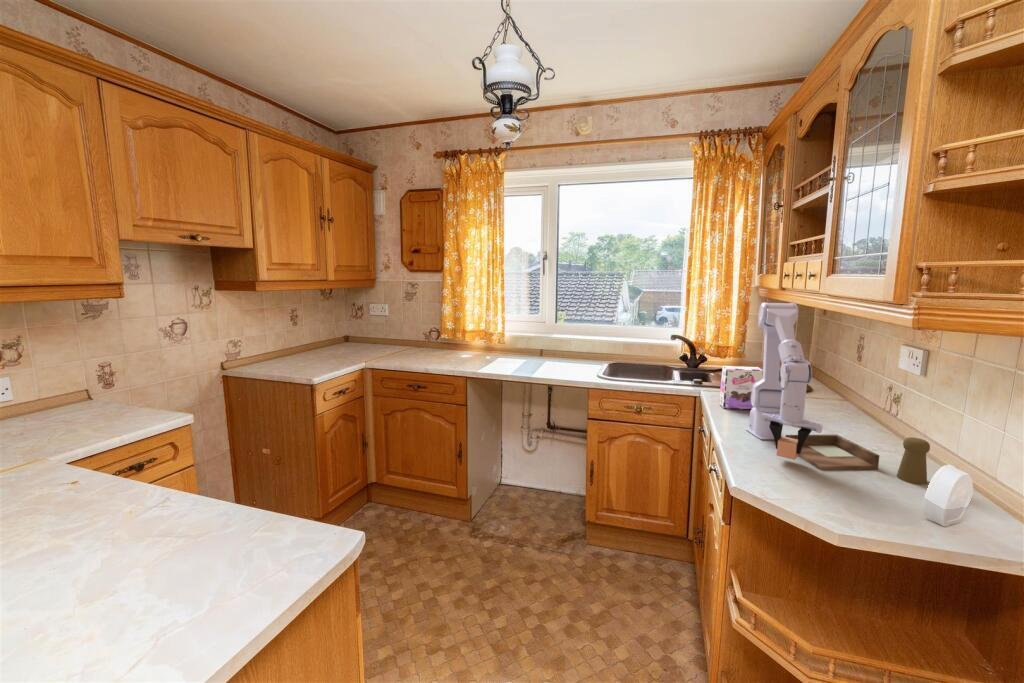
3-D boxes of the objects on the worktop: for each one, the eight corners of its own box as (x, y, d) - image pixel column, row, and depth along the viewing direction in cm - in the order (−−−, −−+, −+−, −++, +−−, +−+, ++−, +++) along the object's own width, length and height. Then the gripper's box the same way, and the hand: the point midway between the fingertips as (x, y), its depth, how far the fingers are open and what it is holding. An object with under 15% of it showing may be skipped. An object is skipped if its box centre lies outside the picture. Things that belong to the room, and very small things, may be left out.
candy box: (723, 409, 178) (725, 368, 176) (718, 404, 184) (721, 365, 181) (760, 410, 176) (764, 369, 173) (755, 406, 182) (758, 366, 179)
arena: (784, 447, 139) (785, 434, 139) (835, 446, 139) (837, 434, 139) (820, 469, 123) (821, 455, 123) (877, 469, 124) (879, 455, 123)
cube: (776, 455, 128) (777, 440, 127) (780, 450, 131) (782, 436, 130) (794, 460, 125) (796, 444, 124) (798, 455, 128) (800, 440, 127)
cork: (933, 485, 114) (939, 444, 112) (905, 483, 115) (911, 442, 114) (917, 475, 120) (922, 435, 118) (891, 473, 121) (896, 434, 120)
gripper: (759, 402, 128) (755, 447, 130) (820, 413, 118) (815, 462, 120) (767, 397, 133) (763, 440, 135) (825, 407, 123) (820, 454, 125)
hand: (788, 450), depth 128 cm, fingers closed on cube, 4 cm apart
